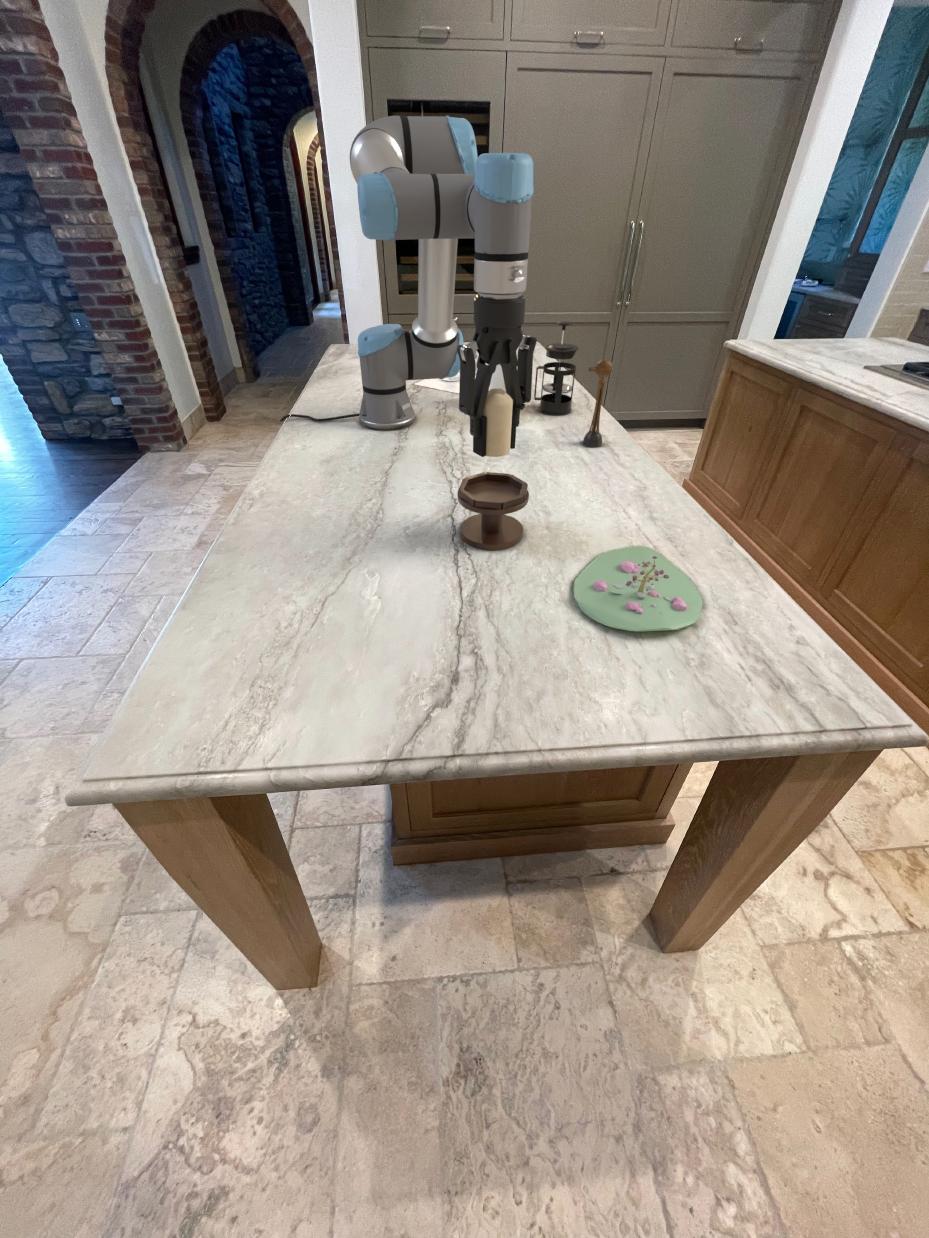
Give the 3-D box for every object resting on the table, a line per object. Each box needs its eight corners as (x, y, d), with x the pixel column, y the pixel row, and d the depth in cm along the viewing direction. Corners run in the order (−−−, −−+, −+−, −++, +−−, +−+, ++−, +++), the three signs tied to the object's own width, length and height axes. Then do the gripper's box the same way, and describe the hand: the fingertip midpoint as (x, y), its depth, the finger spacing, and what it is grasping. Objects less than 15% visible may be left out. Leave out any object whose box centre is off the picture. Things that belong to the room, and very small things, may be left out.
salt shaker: (512, 400, 163) (516, 331, 151) (511, 408, 157) (516, 336, 145) (488, 400, 164) (491, 330, 151) (487, 407, 158) (489, 336, 146)
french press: (571, 405, 160) (582, 318, 145) (575, 415, 153) (586, 325, 138) (532, 404, 161) (539, 318, 146) (533, 415, 153) (541, 325, 139)
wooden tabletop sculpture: (581, 447, 135) (593, 362, 122) (576, 440, 139) (588, 357, 126) (604, 447, 135) (618, 362, 123) (599, 440, 139) (612, 356, 126)
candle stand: (451, 547, 99) (450, 499, 92) (464, 514, 108) (464, 468, 102) (521, 555, 97) (525, 506, 90) (528, 520, 107) (532, 474, 100)
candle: (507, 458, 90) (510, 396, 83) (475, 456, 91) (476, 394, 84) (512, 446, 94) (515, 386, 88) (481, 443, 95) (482, 384, 88)
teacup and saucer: (469, 378, 181) (469, 365, 178) (457, 384, 176) (456, 371, 173) (448, 374, 185) (448, 361, 182) (435, 380, 179) (434, 367, 177)
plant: (565, 546, 99) (572, 501, 93) (679, 550, 98) (692, 506, 92) (578, 635, 80) (587, 586, 74) (719, 641, 79) (739, 593, 73)
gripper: (460, 304, 71) (461, 470, 86) (565, 292, 79) (549, 445, 94) (431, 296, 76) (436, 454, 91) (532, 285, 84) (522, 432, 99)
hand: (494, 449), depth 92 cm, fingers closed on candle, 5 cm apart
